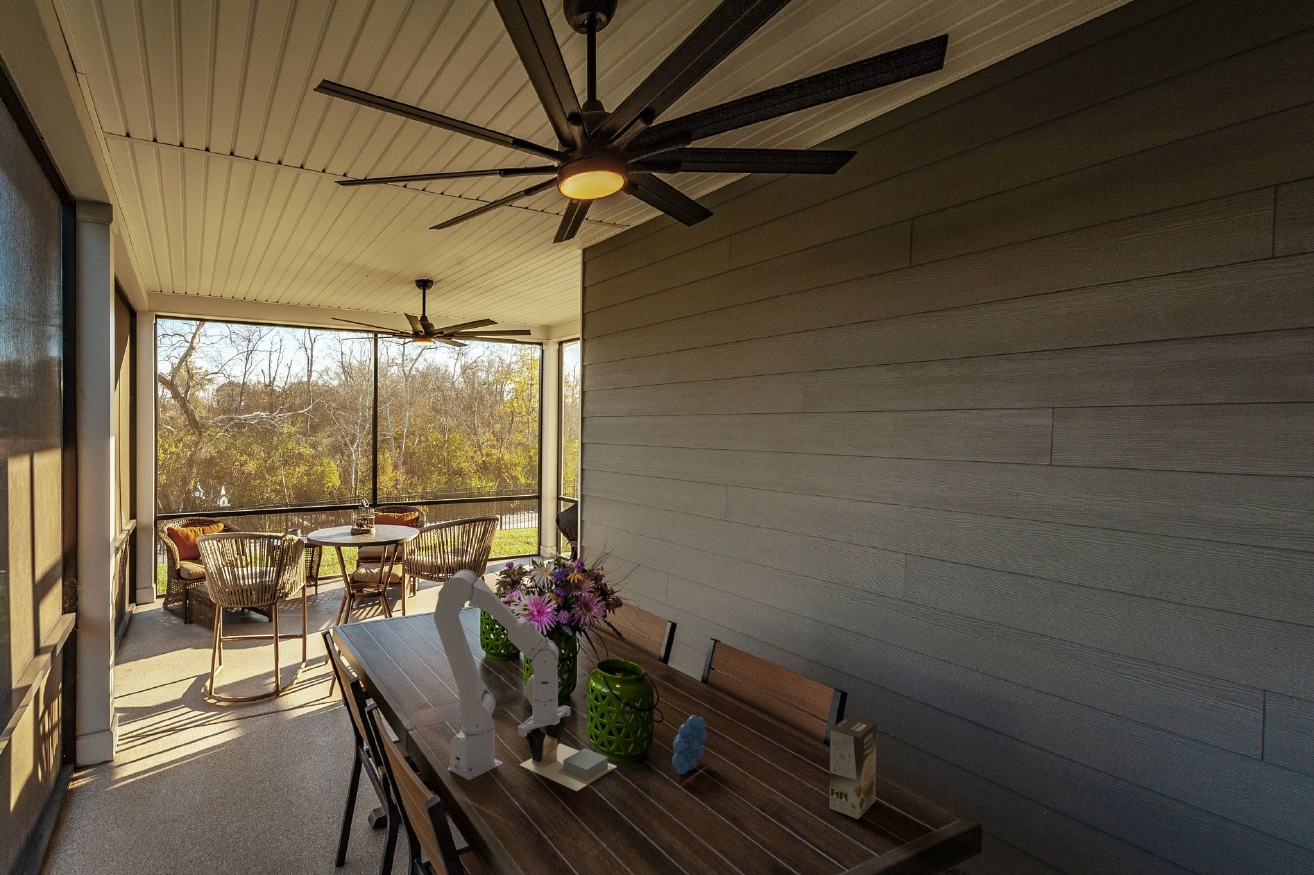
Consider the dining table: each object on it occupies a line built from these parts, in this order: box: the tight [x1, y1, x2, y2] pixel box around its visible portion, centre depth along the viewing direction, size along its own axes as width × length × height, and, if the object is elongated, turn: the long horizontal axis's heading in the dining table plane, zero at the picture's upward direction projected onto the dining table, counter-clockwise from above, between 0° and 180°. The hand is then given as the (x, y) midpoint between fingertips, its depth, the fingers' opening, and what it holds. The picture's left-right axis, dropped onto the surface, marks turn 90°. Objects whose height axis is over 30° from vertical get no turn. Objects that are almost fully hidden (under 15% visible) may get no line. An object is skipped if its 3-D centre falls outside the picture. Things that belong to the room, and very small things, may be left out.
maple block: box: [531, 734, 557, 768], centre depth 145 cm, size 4×4×5 cm
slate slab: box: [563, 748, 609, 781], centre depth 142 cm, size 7×7×2 cm
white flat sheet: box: [519, 743, 618, 792], centre depth 143 cm, size 13×18×1 cm
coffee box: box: [829, 715, 877, 820], centre depth 130 cm, size 9×6×16 cm
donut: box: [525, 674, 534, 707], centre depth 175 cm, size 10×3×10 cm, turn 55°
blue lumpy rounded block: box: [671, 714, 708, 776], centre depth 144 cm, size 12×7×12 cm, turn 141°
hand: (544, 756), depth 145 cm, fingers closed on maple block, 4 cm apart
